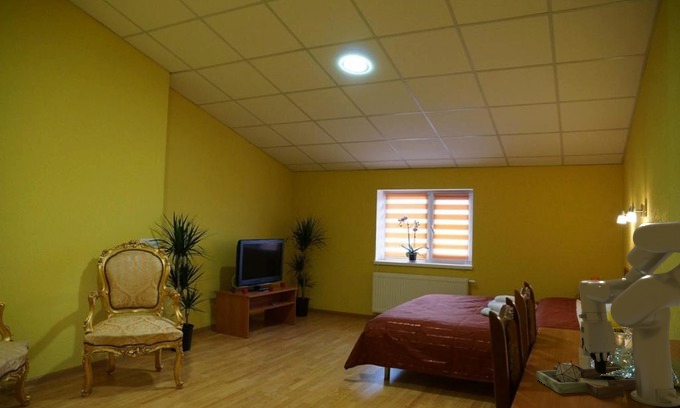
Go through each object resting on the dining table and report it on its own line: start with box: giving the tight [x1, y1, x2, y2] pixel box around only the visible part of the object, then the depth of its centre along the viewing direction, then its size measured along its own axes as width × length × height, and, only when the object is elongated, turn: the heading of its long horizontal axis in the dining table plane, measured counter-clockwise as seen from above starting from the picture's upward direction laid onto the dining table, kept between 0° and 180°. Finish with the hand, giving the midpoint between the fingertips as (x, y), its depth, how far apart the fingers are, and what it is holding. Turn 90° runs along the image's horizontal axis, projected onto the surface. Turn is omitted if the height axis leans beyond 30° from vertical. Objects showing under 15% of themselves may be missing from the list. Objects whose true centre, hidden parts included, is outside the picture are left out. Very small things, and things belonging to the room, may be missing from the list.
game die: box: [553, 360, 584, 383], centre depth 155 cm, size 9×8×10 cm
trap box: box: [535, 363, 636, 399], centre depth 156 cm, size 27×30×3 cm
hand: (601, 372), depth 156 cm, fingers closed
